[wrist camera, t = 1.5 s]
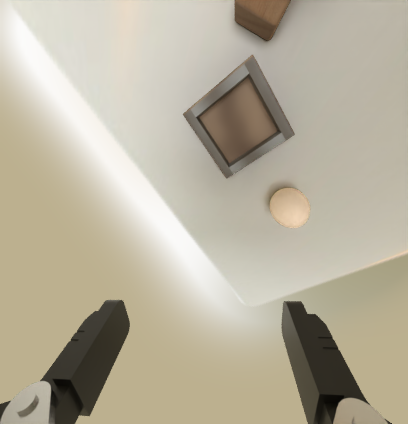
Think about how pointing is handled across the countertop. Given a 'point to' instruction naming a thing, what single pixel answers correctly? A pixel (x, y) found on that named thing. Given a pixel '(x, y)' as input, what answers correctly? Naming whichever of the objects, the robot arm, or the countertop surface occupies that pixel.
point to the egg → (290, 207)
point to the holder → (239, 119)
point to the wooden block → (260, 15)
